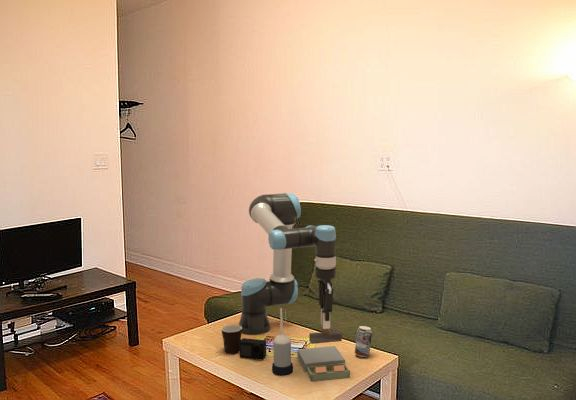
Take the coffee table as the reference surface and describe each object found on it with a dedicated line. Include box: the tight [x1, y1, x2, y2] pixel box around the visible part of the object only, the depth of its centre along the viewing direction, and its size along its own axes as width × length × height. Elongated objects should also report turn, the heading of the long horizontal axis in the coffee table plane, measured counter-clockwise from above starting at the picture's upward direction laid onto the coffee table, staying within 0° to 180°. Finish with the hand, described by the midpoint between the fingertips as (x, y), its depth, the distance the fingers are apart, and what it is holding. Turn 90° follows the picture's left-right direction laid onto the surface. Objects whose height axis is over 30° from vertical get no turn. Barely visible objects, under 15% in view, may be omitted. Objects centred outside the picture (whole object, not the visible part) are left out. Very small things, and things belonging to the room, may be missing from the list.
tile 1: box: [314, 366, 327, 374], centre depth 191 cm, size 4×4×2 cm
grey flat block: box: [296, 345, 346, 374], centre depth 204 cm, size 14×16×4 cm
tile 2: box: [332, 365, 345, 372], centre depth 193 cm, size 4×4×2 cm
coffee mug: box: [221, 324, 243, 355], centre depth 218 cm, size 12×9×10 cm
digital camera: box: [239, 337, 267, 361], centre depth 210 cm, size 10×5×7 cm, turn 75°
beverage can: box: [354, 325, 373, 358], centre depth 210 cm, size 6×7×12 cm
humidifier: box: [271, 307, 294, 377], centre depth 196 cm, size 8×8×25 cm
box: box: [306, 362, 351, 382], centre depth 193 cm, size 7×15×2 cm, turn 101°
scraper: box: [308, 308, 343, 345], centre depth 194 cm, size 3×12×13 cm, turn 101°
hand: (325, 326), depth 195 cm, fingers closed on scraper, 2 cm apart
